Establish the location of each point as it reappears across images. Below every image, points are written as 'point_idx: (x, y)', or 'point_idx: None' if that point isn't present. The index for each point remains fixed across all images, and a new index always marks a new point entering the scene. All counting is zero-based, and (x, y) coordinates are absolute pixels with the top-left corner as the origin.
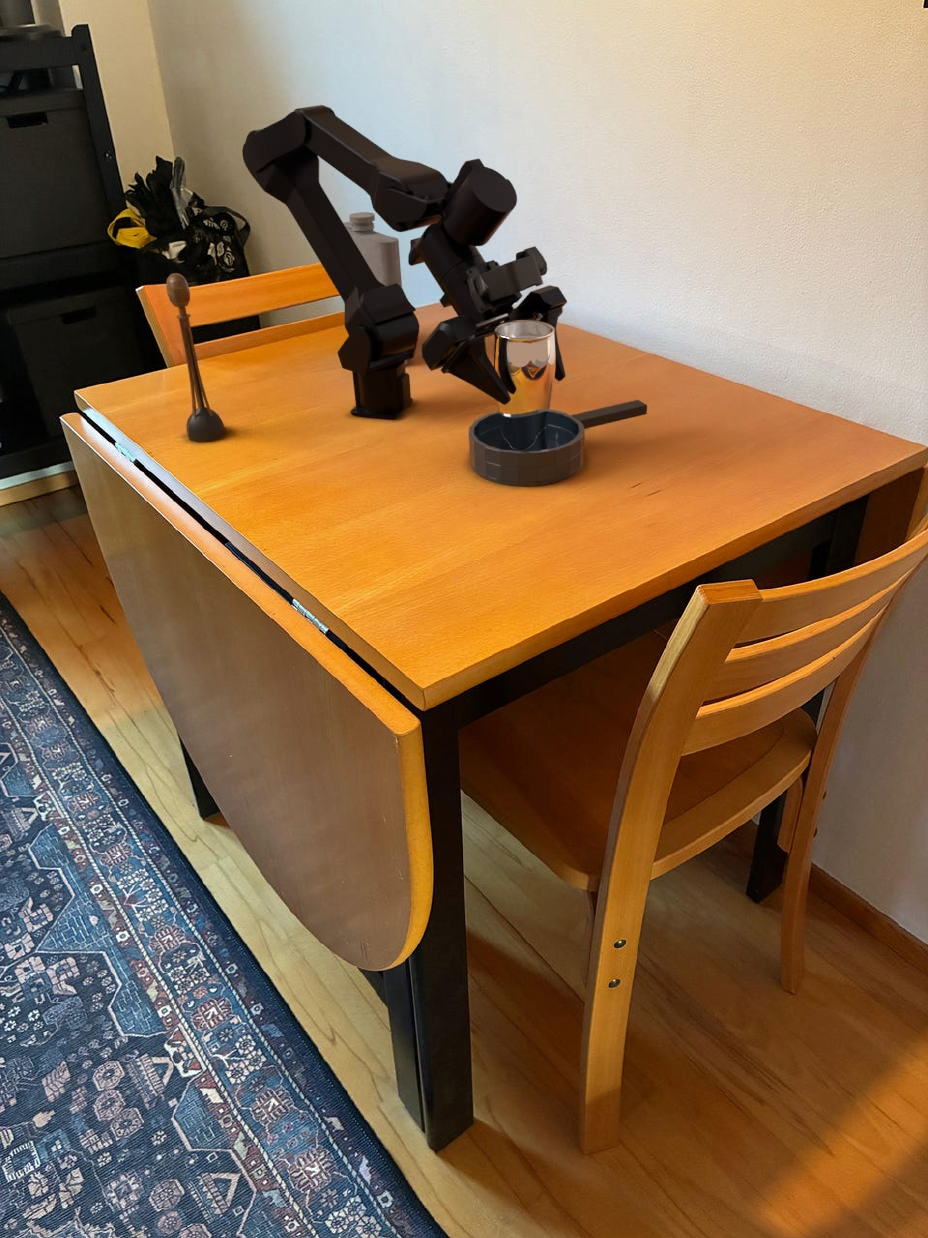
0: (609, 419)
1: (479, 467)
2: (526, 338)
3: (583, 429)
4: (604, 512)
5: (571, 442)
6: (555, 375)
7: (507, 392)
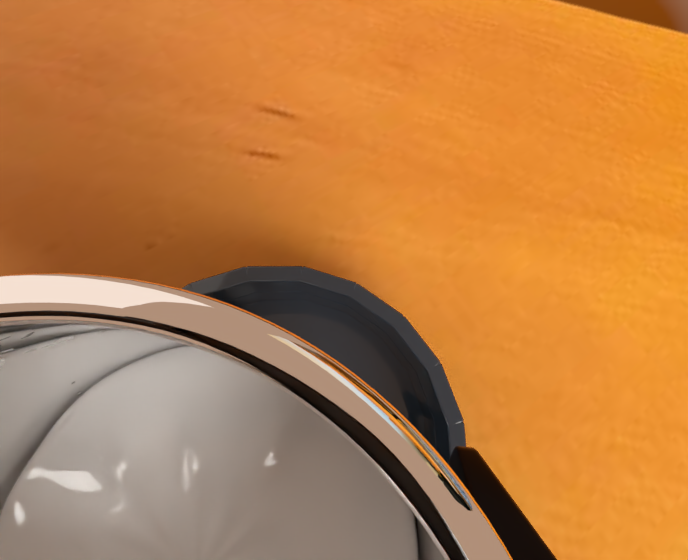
0: None
1: None
2: (439, 488)
3: None
4: (406, 151)
5: (286, 272)
6: None
7: (471, 474)
